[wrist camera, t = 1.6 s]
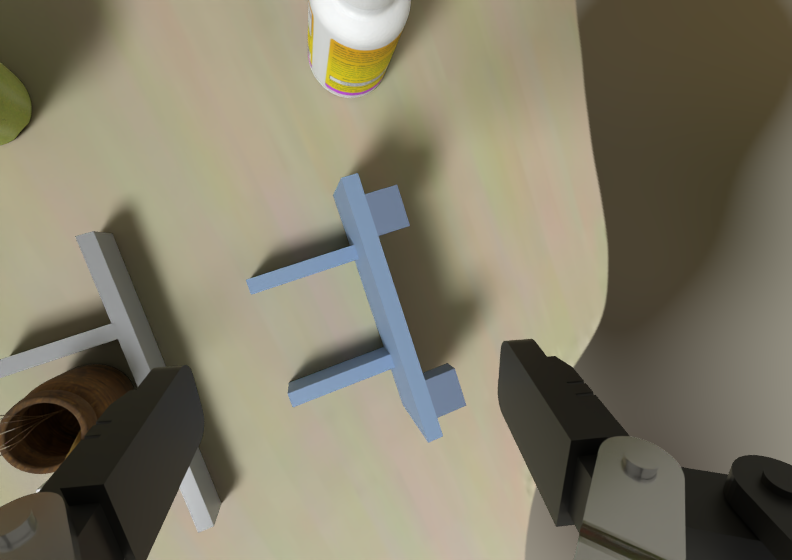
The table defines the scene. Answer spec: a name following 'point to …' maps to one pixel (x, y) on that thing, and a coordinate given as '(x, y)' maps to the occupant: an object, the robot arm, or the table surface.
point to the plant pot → (12, 106)
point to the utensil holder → (58, 416)
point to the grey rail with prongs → (136, 348)
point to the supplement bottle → (353, 42)
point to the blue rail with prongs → (363, 225)
